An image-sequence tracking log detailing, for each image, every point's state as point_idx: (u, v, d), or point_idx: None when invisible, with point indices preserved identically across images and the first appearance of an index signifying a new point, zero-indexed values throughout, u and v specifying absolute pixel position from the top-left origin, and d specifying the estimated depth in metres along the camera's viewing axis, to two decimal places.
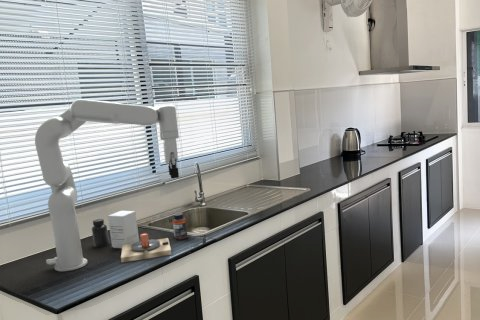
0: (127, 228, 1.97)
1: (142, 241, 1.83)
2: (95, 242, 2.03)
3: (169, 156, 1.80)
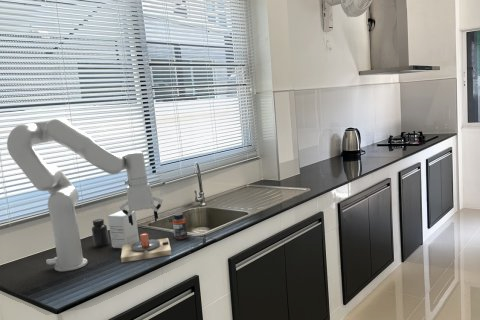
0: (127, 228, 1.97)
1: (142, 241, 1.83)
2: (95, 242, 2.03)
3: (153, 199, 1.82)
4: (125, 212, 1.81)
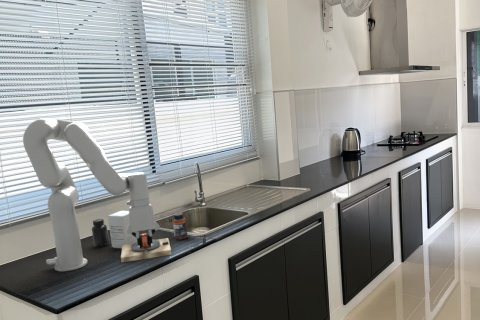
0: (127, 228, 1.97)
1: (142, 241, 1.83)
2: (95, 242, 2.03)
3: None
4: (134, 234, 1.82)
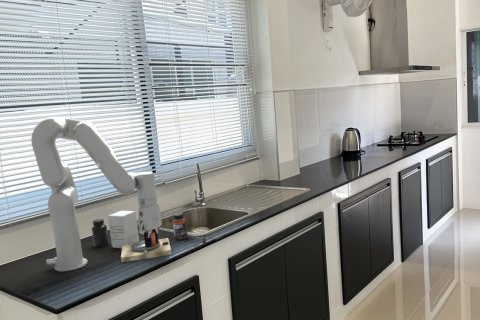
0: (127, 228, 1.97)
1: (151, 239, 1.84)
2: (95, 242, 2.03)
3: None
4: (146, 234, 1.82)
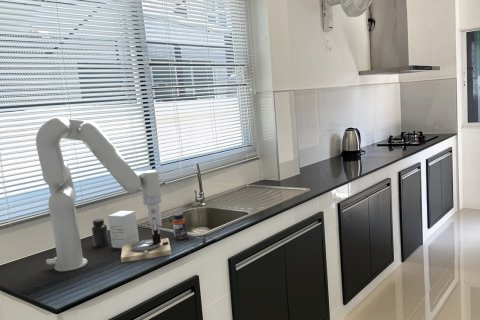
0: (127, 228, 1.97)
1: None
2: (95, 242, 2.03)
3: None
4: (157, 231, 1.86)
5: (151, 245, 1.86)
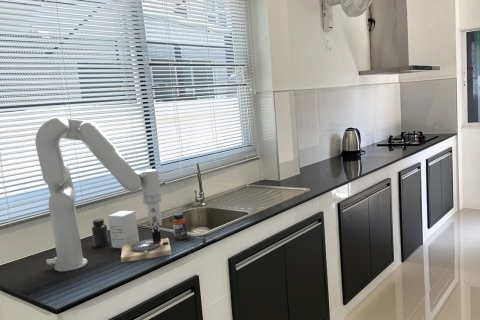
0: (127, 228, 1.97)
1: None
2: (95, 242, 2.03)
3: None
4: (157, 228, 1.83)
5: (151, 245, 1.87)
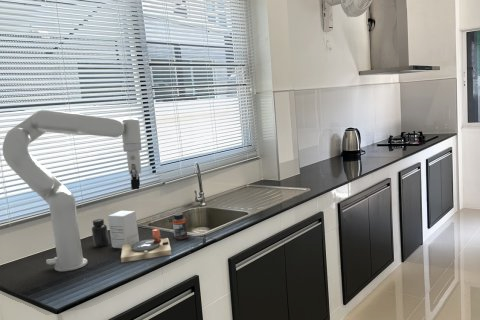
0: (127, 228, 1.97)
1: (159, 235, 1.89)
2: (95, 242, 2.03)
3: None
4: (136, 176, 1.84)
5: (151, 245, 1.87)
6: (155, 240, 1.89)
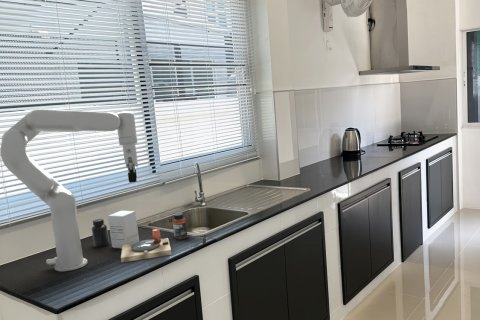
0: (127, 228, 1.97)
1: (159, 235, 1.89)
2: (95, 242, 2.03)
3: None
4: (133, 169, 1.85)
5: (151, 245, 1.87)
6: (155, 240, 1.89)
